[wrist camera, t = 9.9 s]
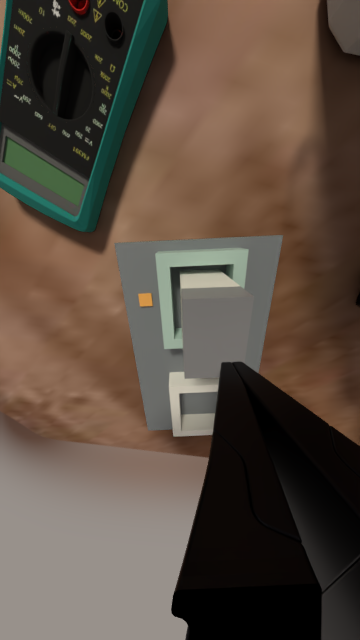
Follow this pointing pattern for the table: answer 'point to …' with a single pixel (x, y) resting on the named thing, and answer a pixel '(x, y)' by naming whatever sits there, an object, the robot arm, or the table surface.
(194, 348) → the plug
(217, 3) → the table surface
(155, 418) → the panel board
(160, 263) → the port
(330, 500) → the robot arm
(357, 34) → the water bottle
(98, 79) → the digital multimeter
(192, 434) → the frame
